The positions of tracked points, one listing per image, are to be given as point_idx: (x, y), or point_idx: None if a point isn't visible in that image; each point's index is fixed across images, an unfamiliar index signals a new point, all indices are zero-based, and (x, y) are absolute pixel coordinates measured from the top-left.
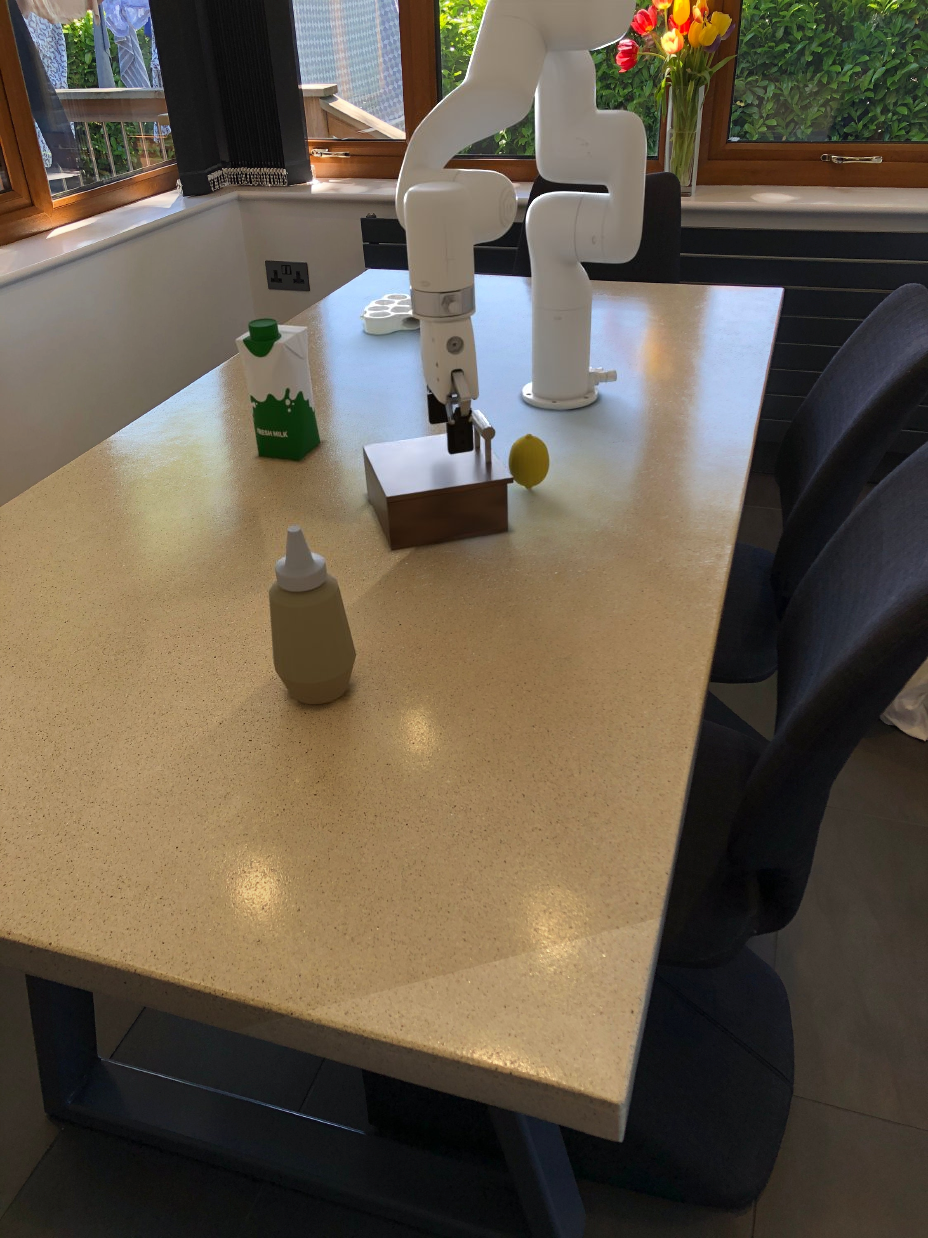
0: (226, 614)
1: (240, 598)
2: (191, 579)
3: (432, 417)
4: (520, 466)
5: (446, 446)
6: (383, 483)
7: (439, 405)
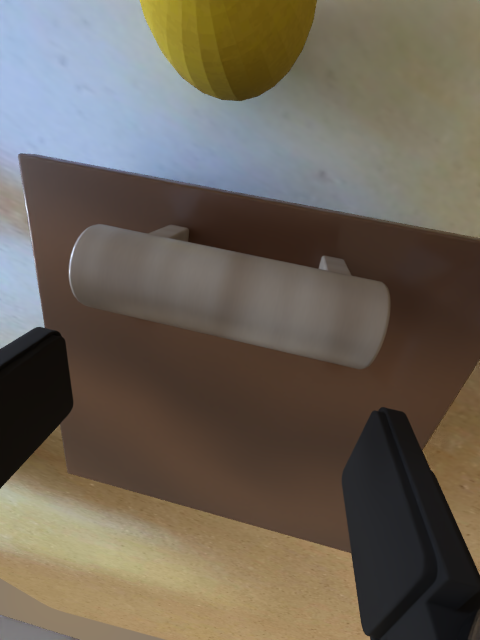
0: (353, 599)
1: (330, 583)
2: (259, 590)
3: (53, 422)
4: (278, 70)
5: (140, 328)
6: (287, 530)
7: (6, 439)
